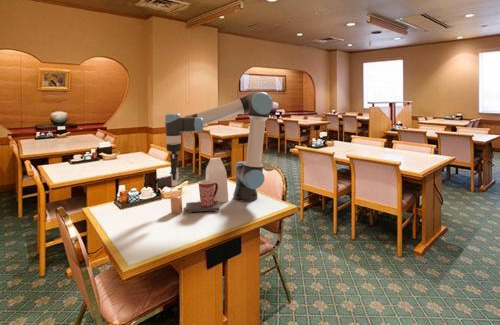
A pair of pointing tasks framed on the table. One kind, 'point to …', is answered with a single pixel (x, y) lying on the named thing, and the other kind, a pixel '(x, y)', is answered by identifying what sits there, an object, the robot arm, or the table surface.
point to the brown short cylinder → (176, 204)
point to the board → (200, 207)
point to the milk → (218, 178)
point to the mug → (207, 192)
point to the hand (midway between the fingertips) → (175, 182)
